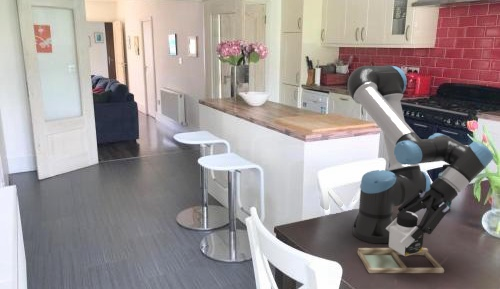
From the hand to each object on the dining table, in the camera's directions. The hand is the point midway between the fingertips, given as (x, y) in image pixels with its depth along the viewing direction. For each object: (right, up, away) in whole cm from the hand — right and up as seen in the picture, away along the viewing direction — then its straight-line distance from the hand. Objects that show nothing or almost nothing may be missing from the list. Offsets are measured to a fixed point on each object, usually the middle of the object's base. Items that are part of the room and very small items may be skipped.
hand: (395, 237), depth 123 cm
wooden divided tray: (+2, -9, +4) cm, 10 cm away
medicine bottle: (+3, -4, +2) cm, 6 cm away
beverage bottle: (+37, +1, +47) cm, 60 cm away
